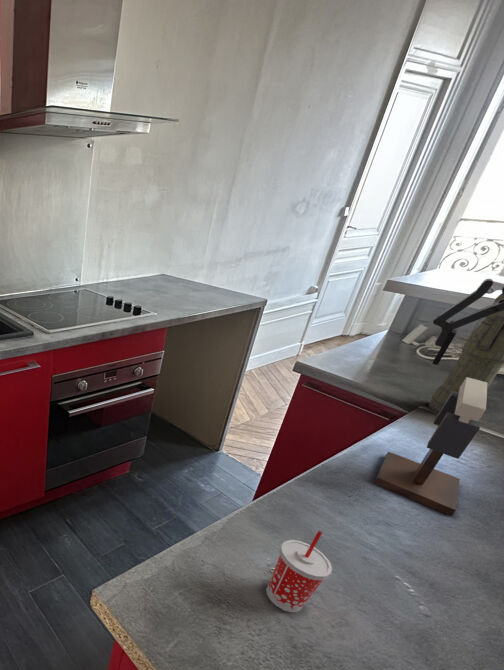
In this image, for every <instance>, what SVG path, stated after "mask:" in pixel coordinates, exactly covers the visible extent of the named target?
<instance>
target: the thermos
mask: <svg viewBox="0 0 504 670" xmlns="http://www.w3.org/2000/svg"><path fill="white" fill-rule="evenodd" d="M503 299H504V296H503V293H502V292H501V293H500V294H499V295H498V296H497V297H496V298H495V299H494V301H493V303H495V302H498V301H500V300H503ZM503 365H504V310H503V311H500V312H496V313H494V314H491V315H489V316H486V317H484V318H483V320H482V321H481V322H480V324H479V325H478V326H477V327H476V328H474V329H473V330H472V331H471V333H470V334H469V336H468V338H467V340H466V341H465V343H464V344H463V346H462V348H461V354H460V355H459V357H458V359H457V360H456V362H455V364H454V366H453V367H452V369H451V370H450V371H449V373H448V375H447V377H446V378H445V380H444V382H443V383H442V384H441V385H440V386H439V387H437V388H436V389H435V392H434V393H433V395H432V399H431V400H430V402H429V403H428V407H429V409H431V410H433V411H434V412H435V413H437V414H438V413H439V411H440V410H441V408H442V407H443V405H444V403H445V402H446V400H447V399H448V397H449V395H450V394H451V392H452V391H454V392H457V393H459V390H460V387H461V385H462V383H463V382H464V380H465V379H466V377H468V378H472V379H476V380H479V381H483V382H487V389H489V387H490V386H491V384H492V382H493V380H494V379H495V377H496V376H497V375H498V373H499V372H500V370H501V369H502V367H503Z"/></svg>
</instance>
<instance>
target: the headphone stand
mask: <svg viewBox="0 0 504 670" xmlns="http://www.w3.org/2000/svg"><path fill="white" fill-rule="evenodd" d="M455 410H456V409H455ZM453 414H455V411H454V412H453ZM443 456H444V454H443V453H440V452H437V451H434V450H432V449H428V451H427V453H426V454H425V456H424V457H423V459H422V460H421V462H417V461H414V460H412V459H409V458H407V457H404V456H401V455H400V454H397V453H394V452H391V451H387V453H386V455H385V456H384V458H383V461H382V462H381V465H380V468H379V470H378V473H377V474H376V477H375V479H374V481H373V483H374V484H376V485H378V486H379V487H382V488H385V489H387V490H388V491H392V492H394V493H396V494H399V495H401V496H403V497H406V498H409V499H411V500H413V501H415V502H417V503H420V504H422V505H424V506H427V507H429V508H431V509H434V510H436V511H439V512H441V513H443V514H446V515H448V516H451V517H452V516H453V515H454V514H455V512H456V511H457V505H458V498H459V497H458V496H459V491H460V490H459V489H460V483H461V478H459V477H456V476H454V475H451V474H448V473H446V472H443V471H441V470H438V469H435V467H436V466H437V465H438V463H439V461H440V460H441V459H442V457H443Z"/></svg>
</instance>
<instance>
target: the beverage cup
mask: <svg viewBox="0 0 504 670" xmlns="http://www.w3.org/2000/svg"><path fill="white" fill-rule="evenodd" d="M322 535H323V531H321V530H317V532H316V534H315V536H314V537H313V540H312V542H311V543H310V544H309V543H308V542H304V541H300V540H298V539H288V540H286V541H283V542H282V543H281V546H280V548H279V556H278V559H277V562H276V564H275V567H274V569H273V572H272V574H271V577H270V579H269V581H268V584H267V587H266V589H265V591H266V595H267V597H268V599H269V600H270V602H272V603H273V605H274V606H275V607H277V608H279V609H281V610H282V611H284V612H287V613H298V612H299V611H301V610H302V608H304V606H305V605H306V603H307V602H308V601H309V599H310V598H311V596H312V595H313V594H314V593H315V592H316V590H317V589H318V587H319V586H320V585H321V583H323V581H324V580H326V579H328V578H329V576H330V575H331V574H332V571H333V565H332V563H331V561H330V560H329V559H328V557H327V556H326V555H325V554H324V553H323V552H322V551H321V550H319V549H318V548H316V545H317V544H318V542H319V540H320V538H321V536H322Z"/></svg>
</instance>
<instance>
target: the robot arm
mask: <svg viewBox="0 0 504 670" xmlns="http://www.w3.org/2000/svg"><path fill="white" fill-rule="evenodd" d="M497 291H501V294H502V293H503V296H504V283H503V282H498V281H495V280H493V279H492V278H486V279H484V280H482V282H481V283H480V285H479V286H478V287H477V288H476V289H475V290H474V291H473V292H471V293H470V294H468V295H466V296H465V297H463V298H462V299H460V300H459V301H457V303H455V304H453V305H451V306H450V307H448V308H447V309H446V310H444V311H442V312H441V313H440V314H439V315H437V316H435V317H434V319H433V321H432V323H433V325H434V326H435V325H436V326H437V327H440V328H441V331H440V333H439V335H438V336H437V337H436V340H435V342H434V346H436V347H440V348H439V350H438V352H437V354H436V355H435V357H434V359H433V360H432V365H436V366H438V365H439V363H440V362H441V360H442V359H443V356H444V355H445V354H446V351H448V348H449V346H451V343H453V342H452V341H453V340H454V339H455V336H456V335H457V332H458V330H457V329H458V328H461V327H463V326H466V325H468V324H471V323H473V322H476V321H478V320H482V319H485V318H486V316H489V315H491V314H494V313H496V312H500V311H503V310H504V299H503V300H500V301H498V302H495V303H494V302H493V303H492V304H490V305H489V304H488V305H487V306H484V307H482V308H480V309H477V310H475V311H472V312H470V313H468V314H467V313H466V314H465V315H462V316H460V317H457V318H456V319H453V320H450V321H449V319H450V318H452V317H454V316H455V315H457V314H458V313H460V312H461V311H463V310H464V309H466V308H467V307H469V306H470V305H472V304H473V303H475V302H476V301H479V299H481V298H483V297H484V296H485V295H486V294H487V295H489V294H490V295H491V294H493V293H495V292H497Z"/></svg>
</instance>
